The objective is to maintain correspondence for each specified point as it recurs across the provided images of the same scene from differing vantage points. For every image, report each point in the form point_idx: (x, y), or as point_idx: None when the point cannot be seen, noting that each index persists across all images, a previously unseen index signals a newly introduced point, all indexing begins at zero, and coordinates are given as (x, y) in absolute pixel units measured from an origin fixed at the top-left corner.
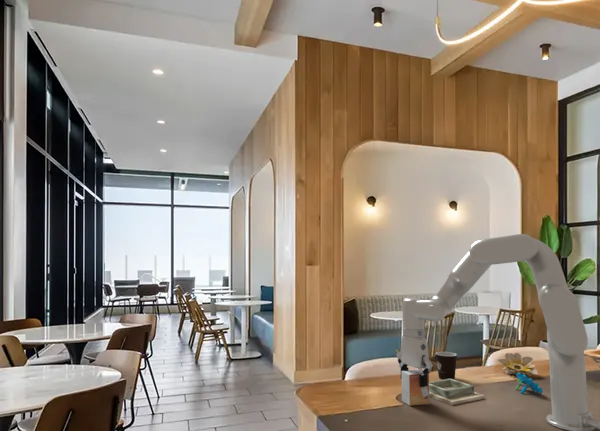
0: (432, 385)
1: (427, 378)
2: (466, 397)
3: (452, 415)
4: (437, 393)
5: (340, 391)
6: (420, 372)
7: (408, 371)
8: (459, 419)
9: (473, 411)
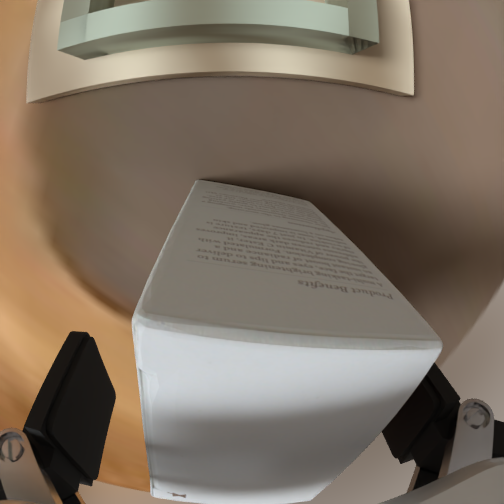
0: (160, 17)
1: (434, 366)
2: None
3: (469, 228)
4: (243, 40)
5: (20, 410)
6: (418, 478)
7: (204, 487)
8: (495, 238)
9: (489, 96)
